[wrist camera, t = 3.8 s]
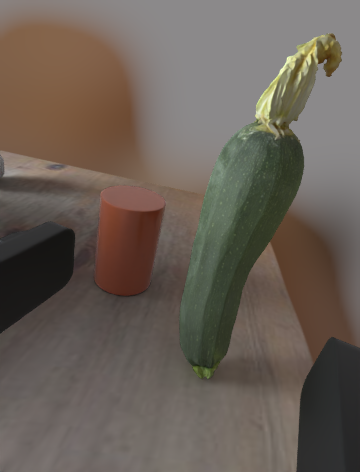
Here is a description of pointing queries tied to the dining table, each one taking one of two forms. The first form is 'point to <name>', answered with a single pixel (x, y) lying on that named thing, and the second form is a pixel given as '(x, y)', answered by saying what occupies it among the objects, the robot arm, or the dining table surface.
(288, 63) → the vegetable
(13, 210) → the dining table surface
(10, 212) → the dining table surface
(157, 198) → the orange cylinder block
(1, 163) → the garlic
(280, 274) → the dining table surface
